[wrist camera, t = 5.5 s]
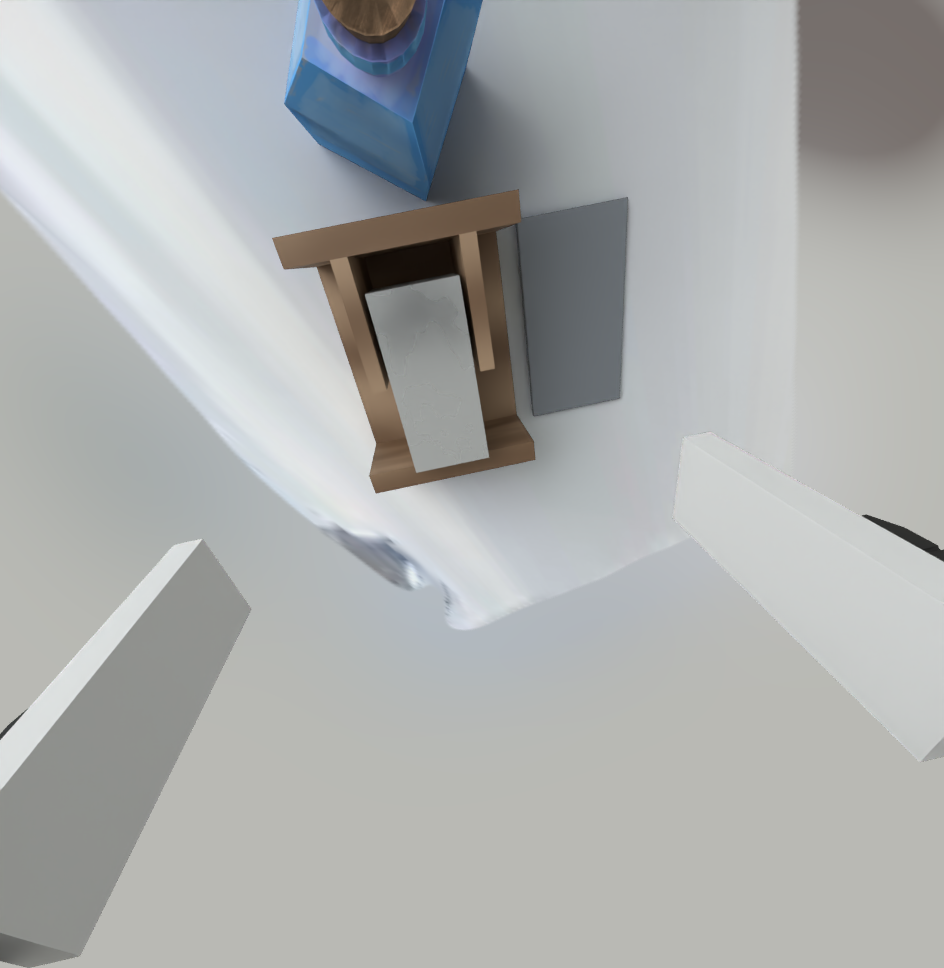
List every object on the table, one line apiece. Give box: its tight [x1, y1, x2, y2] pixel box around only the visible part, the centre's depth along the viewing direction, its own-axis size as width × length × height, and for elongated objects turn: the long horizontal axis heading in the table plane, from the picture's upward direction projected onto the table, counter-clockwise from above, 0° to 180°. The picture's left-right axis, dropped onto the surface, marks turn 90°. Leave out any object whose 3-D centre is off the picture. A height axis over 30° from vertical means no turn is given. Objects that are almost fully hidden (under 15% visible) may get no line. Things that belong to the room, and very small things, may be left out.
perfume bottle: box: [284, 0, 483, 201], centre depth 15 cm, size 6×6×12 cm
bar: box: [365, 273, 489, 473], centre depth 22 cm, size 10×5×4 cm, turn 10°
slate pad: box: [516, 197, 628, 416], centre depth 27 cm, size 13×7×1 cm, turn 10°
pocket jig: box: [272, 189, 535, 493], centre depth 23 cm, size 14×11×8 cm
